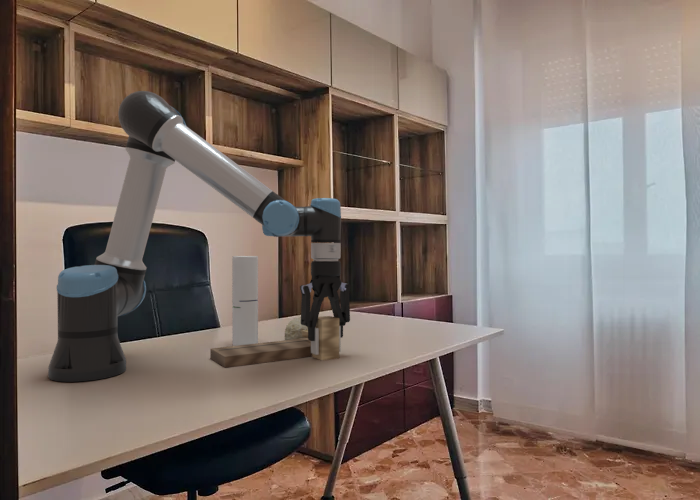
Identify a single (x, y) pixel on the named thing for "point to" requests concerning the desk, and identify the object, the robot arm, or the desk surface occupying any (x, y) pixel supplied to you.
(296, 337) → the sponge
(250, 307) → the cylindrical container
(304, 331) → the wooden lever on block
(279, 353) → the board
